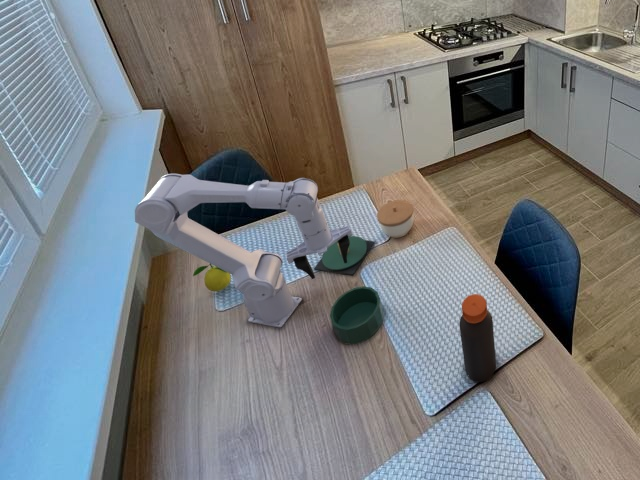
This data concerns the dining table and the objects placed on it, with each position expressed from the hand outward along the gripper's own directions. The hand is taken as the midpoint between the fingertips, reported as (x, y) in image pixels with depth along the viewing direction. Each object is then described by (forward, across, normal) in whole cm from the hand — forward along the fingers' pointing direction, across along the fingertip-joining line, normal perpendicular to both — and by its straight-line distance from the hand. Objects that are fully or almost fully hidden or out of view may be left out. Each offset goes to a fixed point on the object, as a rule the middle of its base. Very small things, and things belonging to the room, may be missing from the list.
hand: (329, 268), depth 100 cm
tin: (+11, +2, -10) cm, 15 cm away
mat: (+10, +4, +13) cm, 17 cm away
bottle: (+12, +21, -36) cm, 44 cm away
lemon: (+10, -26, +21) cm, 35 cm away
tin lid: (+9, +5, +13) cm, 17 cm away
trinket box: (+11, +21, +14) cm, 27 cm away
